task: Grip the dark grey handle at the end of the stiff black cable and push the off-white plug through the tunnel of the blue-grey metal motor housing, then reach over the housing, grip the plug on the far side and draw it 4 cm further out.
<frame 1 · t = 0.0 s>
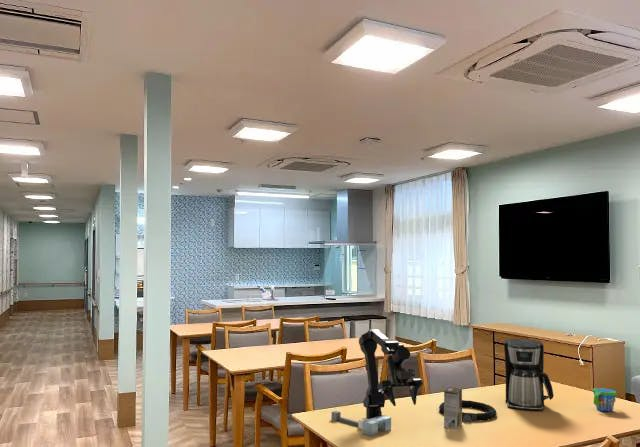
hand: (405, 405, 221), 15 cm above the table, tool tilted 35°, fingers open, 9 cm apart
motor housing: (376, 431, 233), on the table
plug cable: (364, 428, 238), on the table
cable lock: (467, 415, 264), on the table
snack cup: (604, 410, 275), on the table
coffee box: (453, 426, 244), on the table
coffee maker: (529, 404, 285), on the table
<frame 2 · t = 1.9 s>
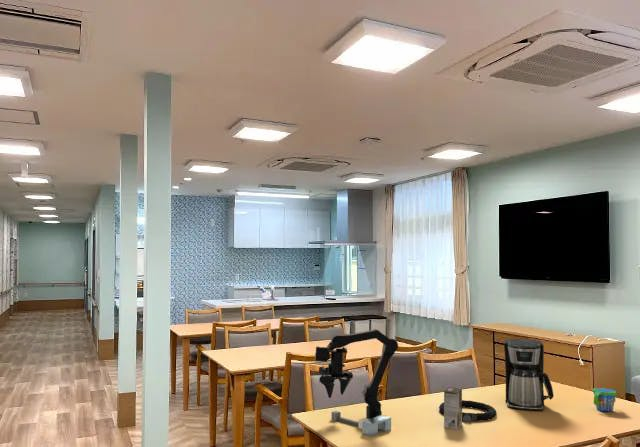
hand: (335, 396, 249), 11 cm above the table, tool pointing down, fingers open, 9 cm apart
nothing on the table moved.
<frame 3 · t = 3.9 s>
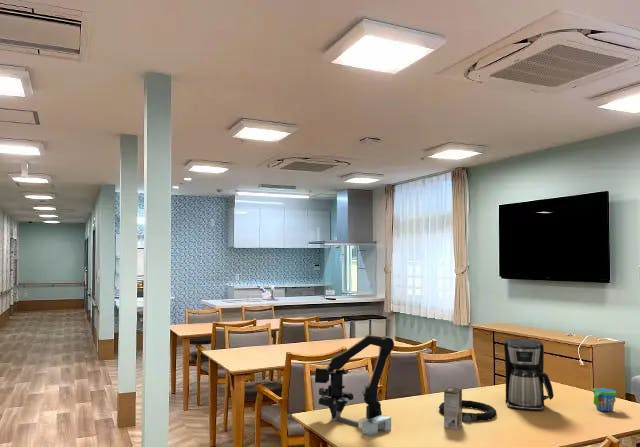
hand: (336, 417, 249), 1 cm above the table, tool pointing down, fingers closed on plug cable, 3 cm apart
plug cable: (364, 428, 238), on the table, touching gripper
everything else where it was.
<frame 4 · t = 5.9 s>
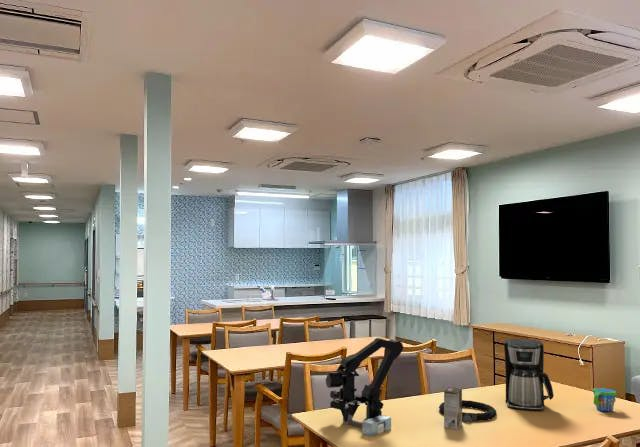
hand: (347, 420, 245), 1 cm above the table, tool pointing down, fingers closed on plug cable, 3 cm apart
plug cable: (377, 431, 233), on the table, touching gripper
everything else where it was.
when the fingers open (1 cm above the table, at t = 8.0 s): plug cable stays where it is, on the table.
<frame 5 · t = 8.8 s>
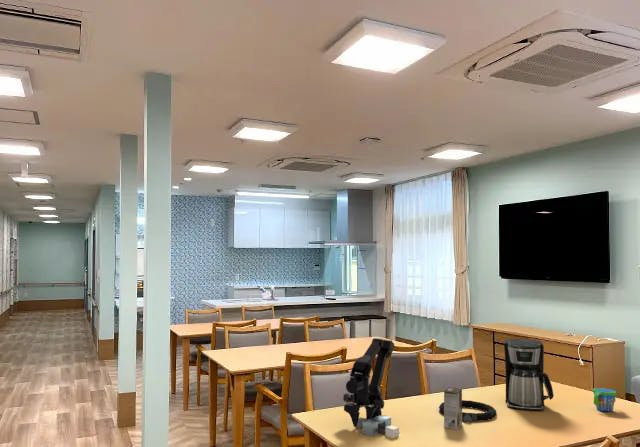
hand: (361, 424, 239), 1 cm above the table, tool pointing down, fingers open, 9 cm apart
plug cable: (392, 436, 228), on the table
everything else where it was.
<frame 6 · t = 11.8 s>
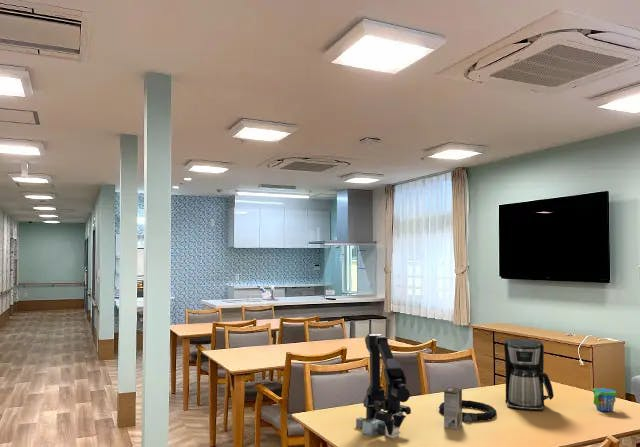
hand: (393, 433, 227), 1 cm above the table, tool pointing down, fingers closed on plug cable, 4 cm apart
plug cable: (392, 435, 228), on the table, touching gripper
everything else where it was.
when the fingers open (1 cm above the table, at t = 13.3 s): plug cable stays where it is, on the table.
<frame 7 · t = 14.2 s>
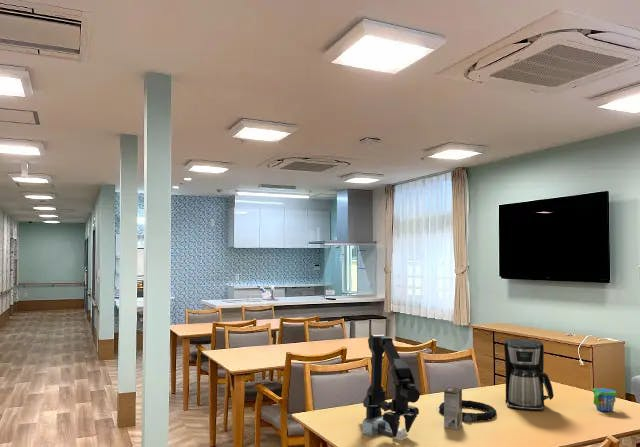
hand: (400, 434, 225), 2 cm above the table, tool pointing down, fingers open, 9 cm apart
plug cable: (399, 438, 225), on the table
everything else where it was.
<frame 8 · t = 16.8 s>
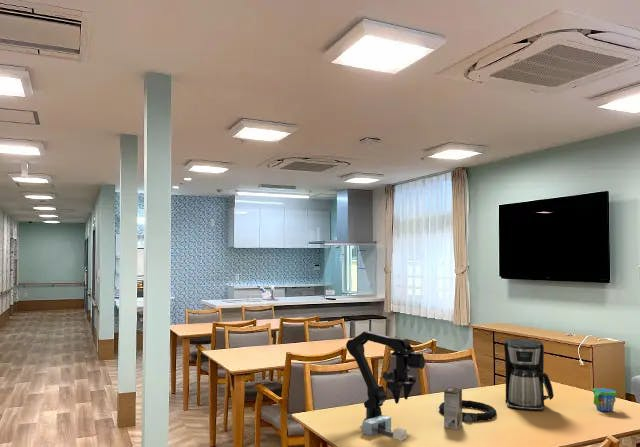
hand: (401, 401, 242), 11 cm above the table, tool pointing down, fingers open, 9 cm apart
nothing on the table moved.
at the end: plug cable 1.0 cm from the target spot, on the table; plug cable tilted 0°; the gripper is holding nothing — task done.
